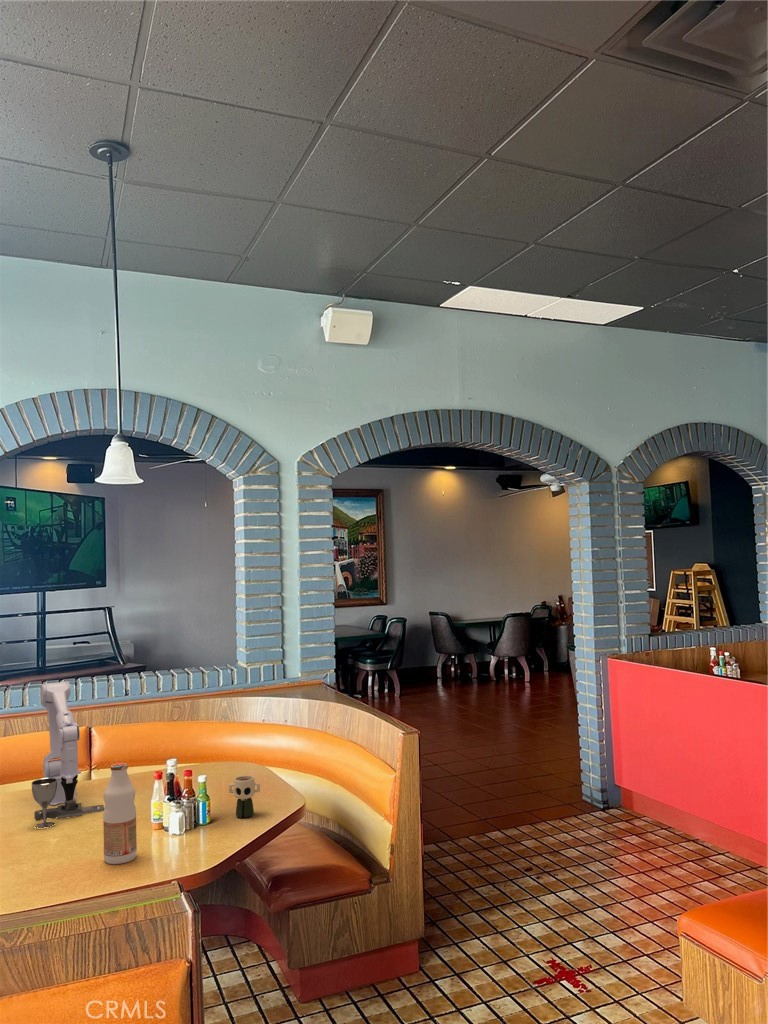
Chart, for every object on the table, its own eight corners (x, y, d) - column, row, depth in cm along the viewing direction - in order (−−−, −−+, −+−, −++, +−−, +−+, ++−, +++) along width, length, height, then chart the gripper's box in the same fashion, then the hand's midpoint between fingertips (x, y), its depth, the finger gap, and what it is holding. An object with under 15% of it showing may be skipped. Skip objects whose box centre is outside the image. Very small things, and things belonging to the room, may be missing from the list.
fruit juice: (107, 867, 227) (106, 770, 229) (100, 857, 235) (99, 764, 237) (140, 860, 232) (139, 765, 234) (132, 850, 240) (131, 758, 242)
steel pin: (62, 807, 276) (62, 782, 277) (72, 804, 280) (72, 779, 280) (68, 809, 274) (68, 783, 274) (78, 806, 277) (78, 781, 278)
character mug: (227, 819, 265) (226, 781, 266) (231, 812, 272) (230, 775, 273) (258, 819, 265) (258, 780, 266) (262, 812, 272) (261, 774, 273)
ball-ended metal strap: (33, 822, 268) (33, 815, 269) (34, 815, 276) (34, 809, 276) (104, 812, 277) (104, 805, 277) (103, 806, 285) (103, 799, 285)
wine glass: (62, 823, 267) (62, 779, 268) (43, 831, 260) (43, 785, 261) (45, 820, 271) (45, 776, 271) (26, 828, 263) (26, 783, 264)
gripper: (81, 763, 272) (81, 802, 272) (80, 753, 286) (81, 791, 285) (59, 765, 270) (60, 805, 269) (60, 756, 283) (60, 794, 282)
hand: (69, 798), depth 277 cm, fingers closed on steel pin, 4 cm apart
